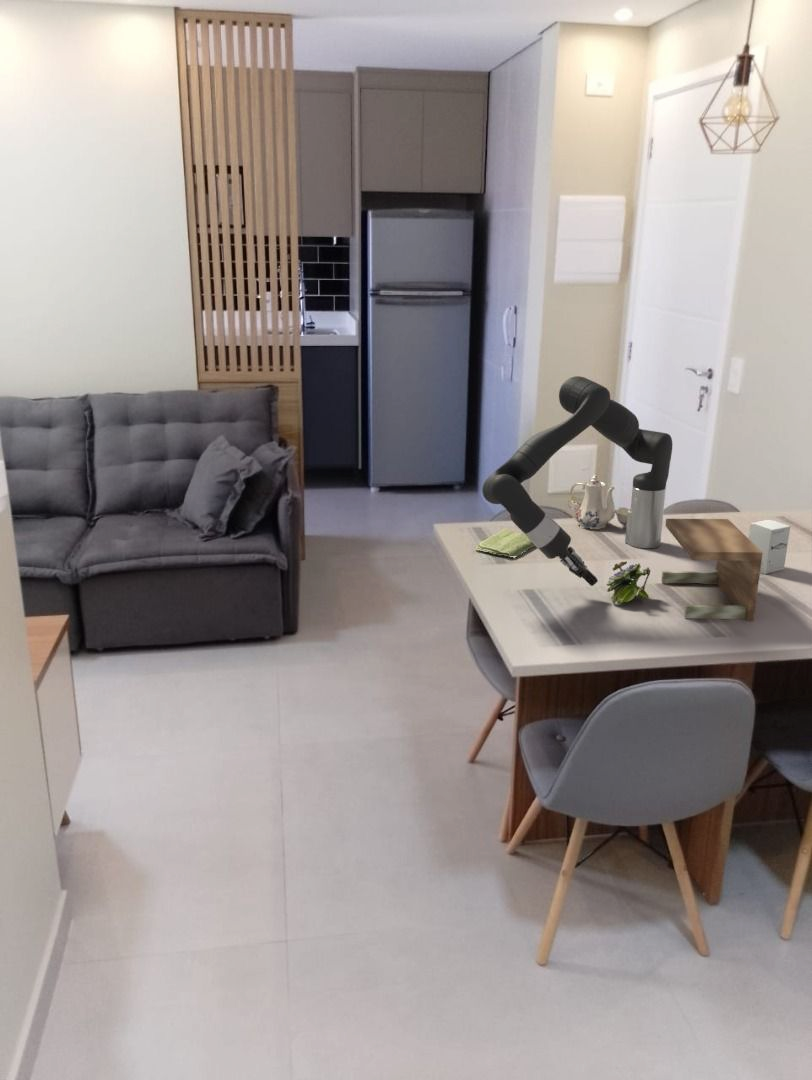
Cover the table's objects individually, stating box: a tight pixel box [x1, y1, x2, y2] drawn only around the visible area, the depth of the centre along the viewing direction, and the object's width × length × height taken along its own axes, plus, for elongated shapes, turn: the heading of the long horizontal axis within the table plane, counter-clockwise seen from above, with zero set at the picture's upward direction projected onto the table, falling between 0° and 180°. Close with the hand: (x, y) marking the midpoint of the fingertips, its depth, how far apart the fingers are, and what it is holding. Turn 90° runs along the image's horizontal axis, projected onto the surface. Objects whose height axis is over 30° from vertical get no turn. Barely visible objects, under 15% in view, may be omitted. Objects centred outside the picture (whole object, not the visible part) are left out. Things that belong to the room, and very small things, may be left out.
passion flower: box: [606, 561, 651, 606], centre depth 217 cm, size 11×11×12 cm
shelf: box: [660, 518, 763, 622], centre depth 215 cm, size 16×25×17 cm, turn 178°
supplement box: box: [747, 519, 791, 575], centre depth 236 cm, size 7×7×13 cm
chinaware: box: [567, 474, 631, 530], centre depth 274 cm, size 28×17×17 cm, turn 46°
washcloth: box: [474, 528, 535, 558], centre depth 255 cm, size 13×18×3 cm
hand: (594, 582), depth 218 cm, fingers closed
